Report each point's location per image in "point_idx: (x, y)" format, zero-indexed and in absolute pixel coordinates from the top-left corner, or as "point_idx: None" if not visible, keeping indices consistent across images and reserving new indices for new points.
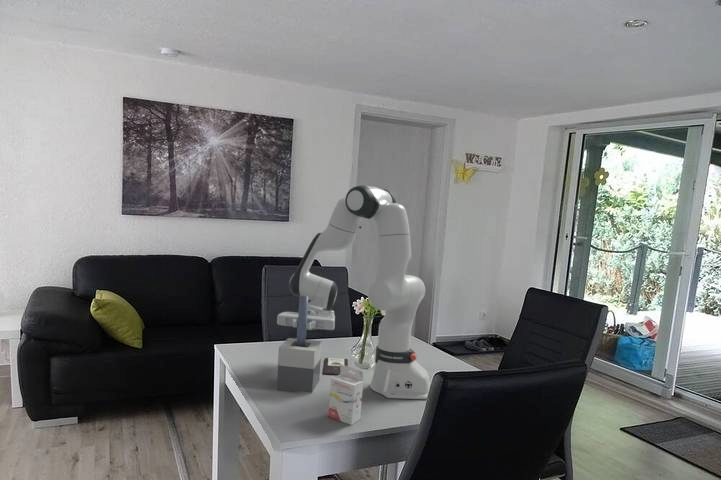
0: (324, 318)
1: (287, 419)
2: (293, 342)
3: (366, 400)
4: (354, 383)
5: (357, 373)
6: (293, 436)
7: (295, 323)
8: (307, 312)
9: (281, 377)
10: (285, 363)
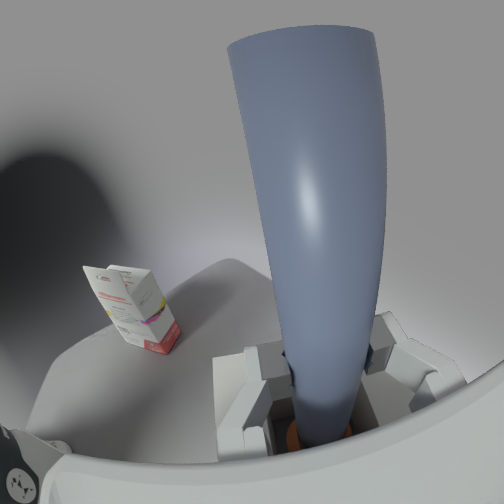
0: (124, 499)
1: (250, 297)
2: (378, 424)
3: (108, 425)
4: (108, 269)
5: (93, 274)
6: (222, 267)
7: None
8: (272, 276)
9: None
10: None
